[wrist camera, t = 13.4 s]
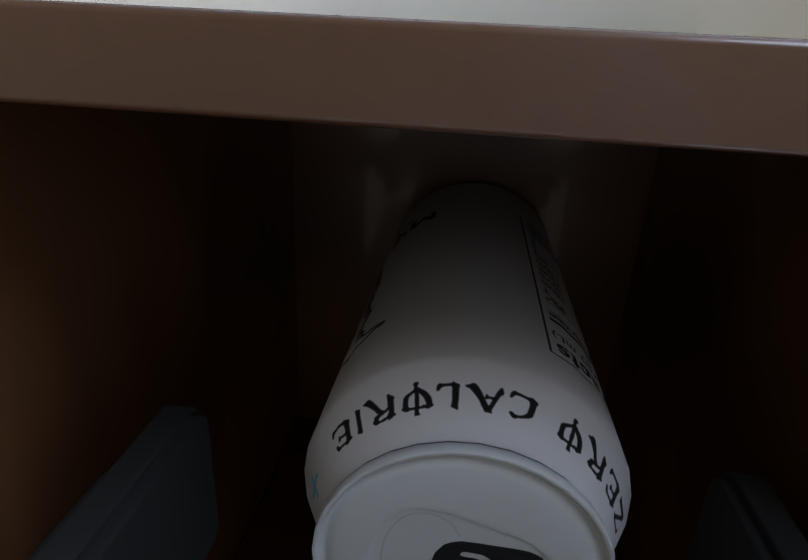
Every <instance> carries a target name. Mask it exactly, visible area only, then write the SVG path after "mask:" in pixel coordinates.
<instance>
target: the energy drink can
mask: <svg viewBox="0 0 808 560" xmlns="http://www.w3.org/2000/svg"><path fill="white" fill-rule="evenodd" d="M304 471H305V481H306V491H307V498H308V502H309V505H310V508H311V511H312V514H313V517H314V520H315V523H316V525H315V531H314V537H313V542H312V556H313V560H615V552H614V549H615V547H616V545H617V543H618V541H619V538H620V536H621V534H622V532H623V530H624V527H625V525H626V521H627V516H628V511H629V506H630V500H631V485H630V471H629V467H628V464H627V461H626V458H625V456H624V453H623V450H622V447H621V444H620V441H619V438H618V435H617V433H616V430H615V427H614V424H613V421H612V418H611V415H610V413H609V410H608V407H607V404H606V401H605V398H604V395H603V392H602V390H601V387H600V384H599V381H598V378H597V375H596V372H595V370H594V367H593V364H592V361H591V358H590V355H589V352H588V349H587V347H586V344H585V341H584V338H583V335H582V332H581V329H580V327H579V324H578V321H577V318H576V315H575V312H574V309H573V306H572V304H571V301H570V298H569V295H568V292H567V289H566V286H565V284H564V281H563V278H562V275H561V272H560V269H559V266H558V264H557V261H556V258H555V255H554V252H553V249H552V246H551V243H550V241H549V238H548V235H547V232H546V229H545V226H544V225H543V223H542V222H541V220H540V218H539V217H538V215H537V213H536V212H535V211H534V210H533V209H532V208H531V207H530V206H529V205H528V204H527V203H526V202H525V201H523V200H522V199H521V198H519V197H518V196H516V195H515V194H513V193H511V192H509V191H507V190H504V189H502V188H500V187H497V186H492V185H488V184H483V183H462V184H457V185H451V186H448V187H445V188H442V189H440V190H437V191H435V192H433V193H431V194H430V195H428V196H427V197H425V198H423V199H422V200H421V201H420V202H419V203H417V204H416V205H415V206H414V207H413V208H412V209H411V210H410V211H409V213H408V214H407V216H406V217H405V219H404V220H403V222H402V223H401V225H400V228H399V230H398V233H397V235H396V237H395V240H394V242H393V244H392V247H391V249H390V252H389V254H388V256H387V259H386V261H385V264H384V266H383V268H382V271H381V273H380V275H379V278H378V280H377V283H376V285H375V287H374V290H373V292H372V295H371V297H370V299H369V302H368V304H367V307H366V309H365V311H364V314H363V316H362V318H361V321H360V323H359V326H358V328H357V330H356V333H355V335H354V338H353V340H352V342H351V345H350V347H349V349H348V352H347V354H346V357H345V359H344V361H343V364H342V366H341V369H340V371H339V373H338V376H337V378H336V380H335V383H334V385H333V388H332V390H331V392H330V395H329V397H328V400H327V402H326V404H325V407H324V409H323V411H322V414H321V416H320V419H319V421H318V423H317V426H316V428H315V431H314V433H313V435H312V438H311V440H310V443H309V445H308V450H307V456H306V463H305V469H304Z"/></svg>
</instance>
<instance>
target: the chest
mask: <svg viewBox="0 0 808 560" xmlns="http://www.w3.org/2000/svg"><path fill="white" fill-rule="evenodd" d="M462 183H483V184H488V185H492V186H497V187H500V188H502V189H504V190H507V191H509V192H511V193H513V194H515V195H516V196H518V197H519V198H521V199H522V200H523V201H525V202H526V203H527V204H528V205H529V206H530V207H531V208H532V209H533V210H534V211H535V212H536V213H537V215H538V217H539V218H540V220H541V222H542V223H543V225H544V226H545V229H546V232H547V235H548V238H549V241H550V243H551V246H552V249H553V252H554V255H555V258H556V261H557V264H558V266H559V269H560V272H561V275H562V278H563V281H564V284H565V286H566V289H567V292H568V295H569V298H570V301H571V304H572V306H573V309H574V312H575V315H576V318H577V321H578V324H579V327H580V329H581V332H582V335H583V338H584V341H585V344H586V347H587V349H588V352H589V355H590V358H591V361H592V364H593V367H594V370H595V372H596V375H597V378H598V381H599V384H600V387H601V390H602V392H603V395H604V398H605V401H606V404H607V407H608V410H609V413H610V415H611V418H612V421H613V424H614V427H615V430H616V433H617V435H618V438H619V441H620V444H621V447H622V450H623V453H624V456H625V458H626V461H627V464H628V467H629V471H630V485H631V500H630V506H629V511H628V516H627V521H626V525H625V527H624V530H623V532H622V534H621V536H620V538H619V541H618V543H617V545H616V547H615V549H614V552H615V560H684V558H685V555H686V552H687V549H688V546H689V543H690V541H691V538H692V535H693V532H694V529H695V526H696V523H697V520H698V517H699V514H700V511H701V508H702V505H703V502H704V499H705V496H706V493H707V490H708V487H709V484H710V482H711V481H712V480H713V479H715V478H717V479H720V477H721V475H722V474H723V473H724V472H727V471H730V472H738V473H747V474H755V475H761V476H763V477H765V478H766V480H767V481H768V482H769V484H770V485H771V487H772V488H773V490H774V491H775V493H776V494H777V496H778V498H779V499H780V501H781V502H782V504H783V505H784V507H785V508H786V510H787V511H788V513H789V515H790V516H791V518H792V519H793V521H794V522H795V524H796V525H797V527H798V529H799V530H800V532H801V533H802V535H803V536H804V538H805V539H806V541H807V543H808V39H789V38H770V37H750V36H730V35H711V34H691V33H672V32H652V31H633V30H613V29H593V28H574V27H554V26H535V25H515V24H495V23H476V22H456V21H437V20H417V19H398V18H378V17H358V16H339V15H319V14H300V13H280V12H261V11H241V10H221V9H202V8H182V7H163V6H143V5H124V4H104V3H84V2H65V1H45V0H0V560H27V559H28V558H29V557H30V556H31V555H32V553H33V552H34V551H35V550H36V549H37V548H38V546H39V545H40V544H41V543H42V542H43V541H44V540H45V538H46V537H47V536H48V535H49V534H50V533H51V531H52V530H53V529H54V528H55V527H56V526H57V525H58V523H59V522H60V521H61V520H62V519H63V518H64V516H65V515H66V514H67V513H68V512H69V511H70V510H71V508H72V507H73V506H74V505H75V504H76V503H77V501H78V500H79V499H80V498H81V497H82V496H83V495H84V493H85V492H86V491H87V490H88V489H89V488H90V486H91V485H92V484H93V483H94V482H95V481H96V480H97V479H98V478H99V477H100V476H101V475H102V474H103V473H104V472H107V471H109V469H110V468H111V467H112V466H113V465H114V464H115V462H116V461H117V460H118V459H119V458H120V457H121V455H122V454H123V453H124V452H125V451H126V450H127V448H128V447H129V446H130V445H131V444H132V443H133V441H134V440H135V439H136V438H137V437H138V436H139V434H140V433H141V432H142V431H143V430H144V429H145V427H146V426H147V425H148V424H149V423H150V422H151V420H152V419H153V418H154V417H155V416H156V415H157V413H158V412H159V411H160V410H161V409H162V408H163V407H164V406H165V405H177V406H185V407H194V408H197V409H198V410H199V412H200V415H201V416H203V417H206V418H207V420H208V424H209V433H210V443H211V452H212V461H213V471H214V480H215V489H216V499H217V508H218V517H219V527H218V532H217V536H216V539H215V541H214V543H213V545H212V547H211V549H210V551H209V553H208V555H207V556H206V558H205V560H313V556H312V542H313V537H314V531H315V525H316V523H315V520H314V517H313V514H312V511H311V508H310V505H309V502H308V498H307V491H306V481H305V471H304V469H305V463H306V456H307V450H308V445H309V443H310V440H311V438H312V435H313V433H314V431H315V428H316V426H317V423H318V421H319V419H320V416H321V414H322V411H323V409H324V407H325V404H326V402H327V400H328V397H329V395H330V392H331V390H332V388H333V385H334V383H335V380H336V378H337V376H338V373H339V371H340V369H341V366H342V364H343V361H344V359H345V357H346V354H347V352H348V349H349V347H350V345H351V342H352V340H353V338H354V335H355V333H356V330H357V328H358V326H359V323H360V321H361V318H362V316H363V314H364V311H365V309H366V307H367V304H368V302H369V299H370V297H371V295H372V292H373V290H374V287H375V285H376V283H377V280H378V278H379V275H380V273H381V271H382V268H383V266H384V264H385V261H386V259H387V256H388V254H389V252H390V249H391V247H392V244H393V242H394V240H395V237H396V235H397V233H398V230H399V228H400V225H401V223H402V222H403V220H404V219H405V217H406V216H407V214H408V213H409V211H410V210H411V209H412V208H413V207H414V206H415V205H416V204H417V203H419V202H420V201H421V200H422V199H423V198H425V197H427V196H428V195H430V194H431V193H433V192H435V191H437V190H440V189H442V188H445V187H448V186H451V185H457V184H462Z"/></svg>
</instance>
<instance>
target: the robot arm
mask: <svg viewBox="0 0 808 560" xmlns="http://www.w3.org/2000/svg"><path fill="white" fill-rule="evenodd" d="M218 527H219V517H218V508H217V499H216V489H215V480H214V471H213V461H212V452H211V443H210V433H209V424H208V420H207V418H206V417H203V416H201V415H200V412H199V410H198V409H197V408H194V407H185V406H177V405H165V406H164V407H163V408H162V409H161V410H160V411H159V412H158V413H157V415H156V416H155V417H154V418H153V419H152V420H151V422H150V423H149V424H148V425H147V426H146V427H145V429H144V430H143V431H142V432H141V433H140V434H139V436H138V437H137V438H136V439H135V440H134V441H133V443H132V444H131V445H130V446H129V447H128V448H127V450H126V451H125V452H124V453H123V454H122V455H121V457H120V458H119V459H118V460H117V461H116V462H115V464H114V465H113V466H112V467H111V468H110V469H109V471H107V472H104V473H103V474H102V475H101V476H100V477H99V478H98V479H97V480H96V481H95V482H94V483H93V484H92V485H91V486H90V488H89V489H88V490H87V491H86V492H85V493H84V495H83V496H82V497H81V498H80V499H79V500H78V501H77V503H76V504H75V505H74V506H73V507H72V508H71V510H70V511H69V512H68V513H67V514H66V515H65V516H64V518H63V519H62V520H61V521H60V522H59V523H58V525H57V526H56V527H55V528H54V529H53V530H52V531H51V533H50V534H49V535H48V536H47V537H46V538H45V540H44V541H43V542H42V543H41V544H40V545H39V546H38V548H37V549H36V550H35V551H34V552H33V553H32V555H31V556H30V557H29V558H28V559H27V560H205V558H206V556H207V555H208V553H209V551H210V549H211V547H212V545H213V543H214V541H215V539H216V536H217V532H218ZM684 560H808V543H807V541H806V539H805V538H804V536H803V535H802V533H801V532H800V530H799V529H798V527H797V525H796V524H795V522H794V521H793V519H792V518H791V516H790V515H789V513H788V511H787V510H786V508H785V507H784V505H783V504H782V502H781V501H780V499H779V498H778V496H777V494H776V493H775V491H774V490H773V488H772V487H771V485H770V484H769V482H768V481H767V480H766V478H765V477H763V476H761V475H755V474H747V473H738V472H730V471H727V472H724V473H723V474H722V475H721V477H720V479H717V478H715V479H713V480H712V481H711V482H710V484H709V487H708V490H707V493H706V496H705V499H704V502H703V505H702V508H701V511H700V514H699V517H698V520H697V523H696V526H695V529H694V532H693V535H692V538H691V541H690V543H689V546H688V549H687V552H686V555H685V558H684Z"/></svg>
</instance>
